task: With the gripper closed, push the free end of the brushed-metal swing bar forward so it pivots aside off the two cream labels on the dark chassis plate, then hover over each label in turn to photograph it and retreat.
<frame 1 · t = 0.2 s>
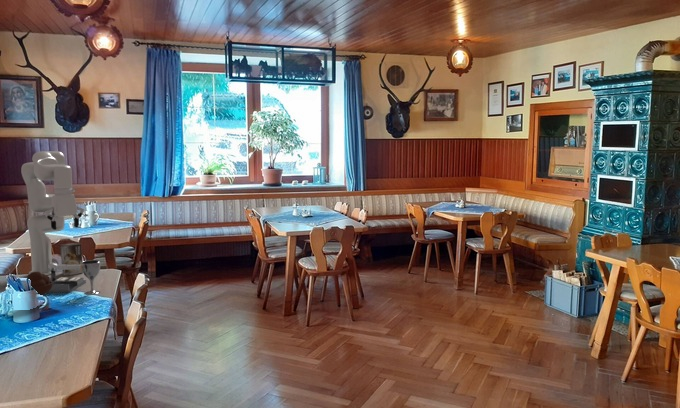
hand: (65, 228, 245), 31 cm above the table, tool pointing down, fingers open, 9 cm apart
label a: (74, 279, 258), resting on psu chassis
swing arm: (67, 267, 257), point 9 cm above the table, hinge at 0.0°
label b: (62, 279, 258), resting on psu chassis
psu chassis: (61, 287, 255), on the table
coffee box: (72, 273, 282), on the table
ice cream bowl: (40, 305, 228), on the table
wine glass: (92, 293, 247), on the table
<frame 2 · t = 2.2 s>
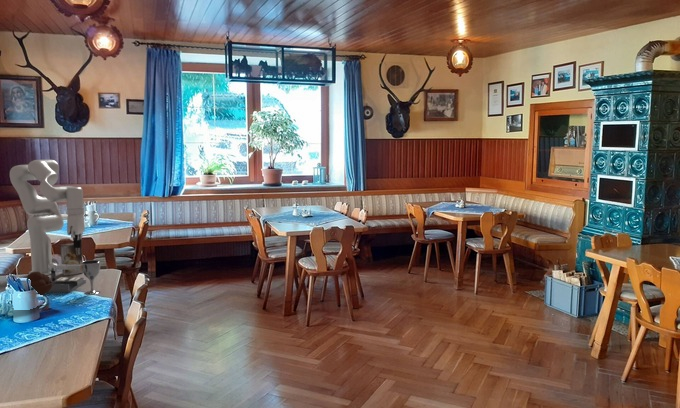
hand: (77, 247, 263), 18 cm above the table, tool pointing down, fingers closed
nothing on the table moved.
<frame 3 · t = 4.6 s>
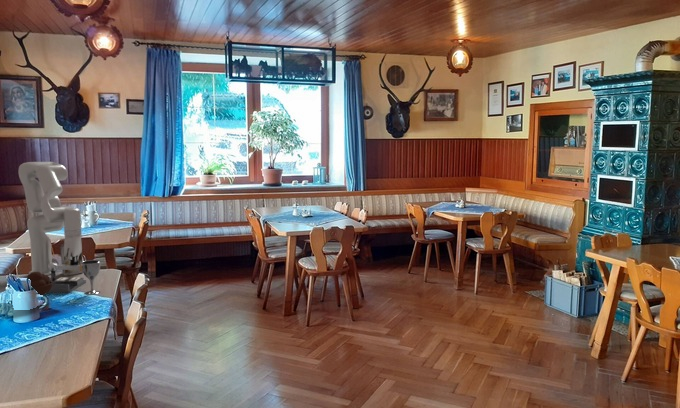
hand: (74, 269, 260), 8 cm above the table, tool pointing down, fingers closed
swing arm: (67, 267, 257), point 9 cm above the table, hinge at -3.5°, touching gripper
everything else where it was.
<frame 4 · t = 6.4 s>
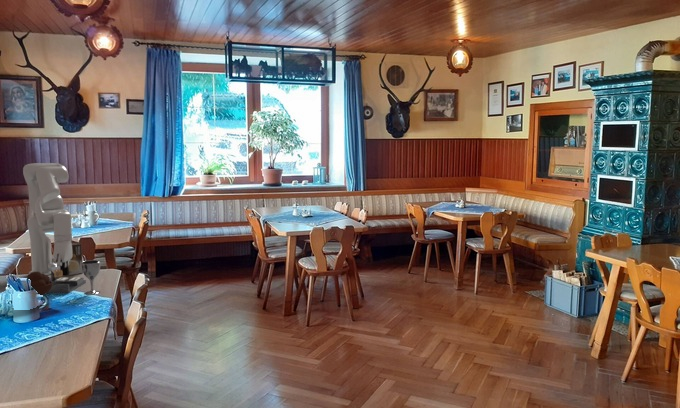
hand: (64, 275, 250), 7 cm above the table, tool pointing down, fingers closed
swing arm: (55, 269, 251), point 9 cm above the table, hinge at -55.7°, touching gripper
everything else where it was.
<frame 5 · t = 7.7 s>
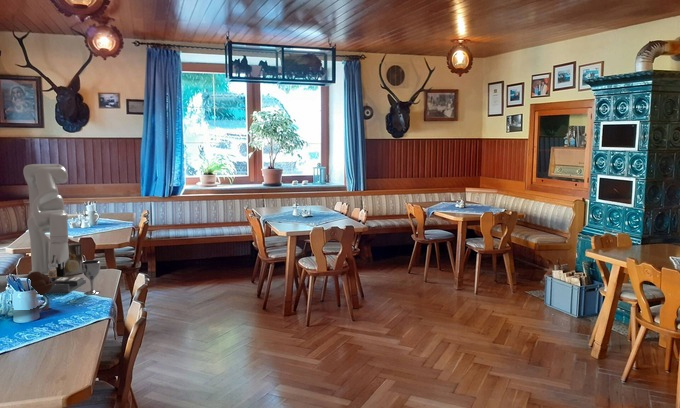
hand: (60, 276, 248), 7 cm above the table, tool pointing down, fingers closed
swing arm: (52, 270, 251), point 9 cm above the table, hinge at -64.3°, touching gripper
everything else where it was.
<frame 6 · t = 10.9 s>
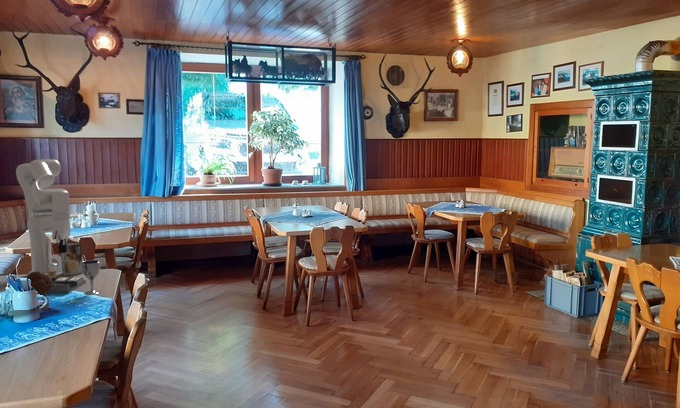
hand: (62, 252, 256), 17 cm above the table, tool pointing down, fingers closed
swing arm: (52, 270, 250), point 9 cm above the table, hinge at -65.0°
everything else where it was.
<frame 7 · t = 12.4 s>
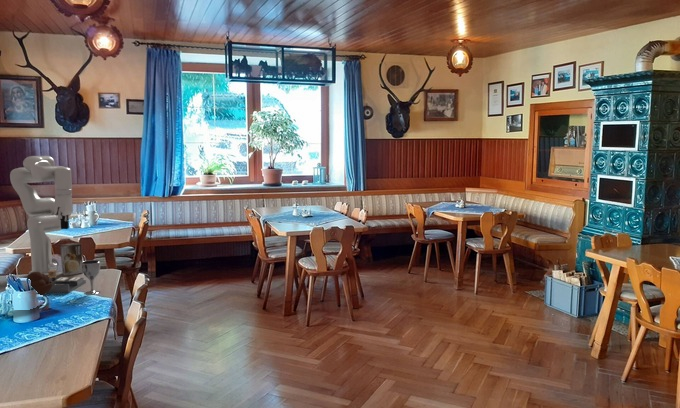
hand: (64, 228, 260), 28 cm above the table, tool pointing down, fingers closed
nothing on the table moved.
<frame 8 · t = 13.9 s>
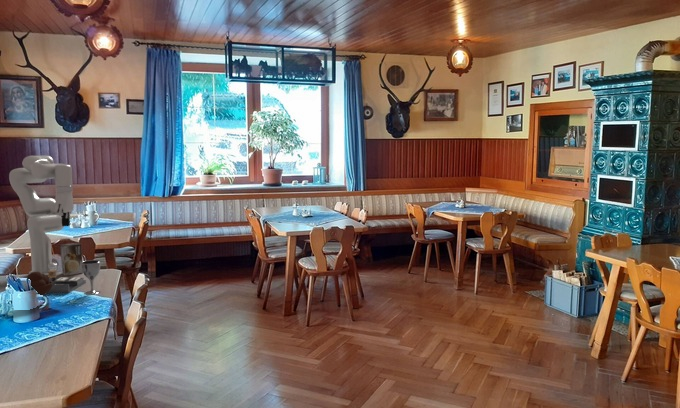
hand: (66, 225, 260), 29 cm above the table, tool pointing down, fingers closed
nothing on the table moved.
at the end: swing arm at -65° (first picture: +0°); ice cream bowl moved 0.2 cm from its start; wine glass moved 0.2 cm from its start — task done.
